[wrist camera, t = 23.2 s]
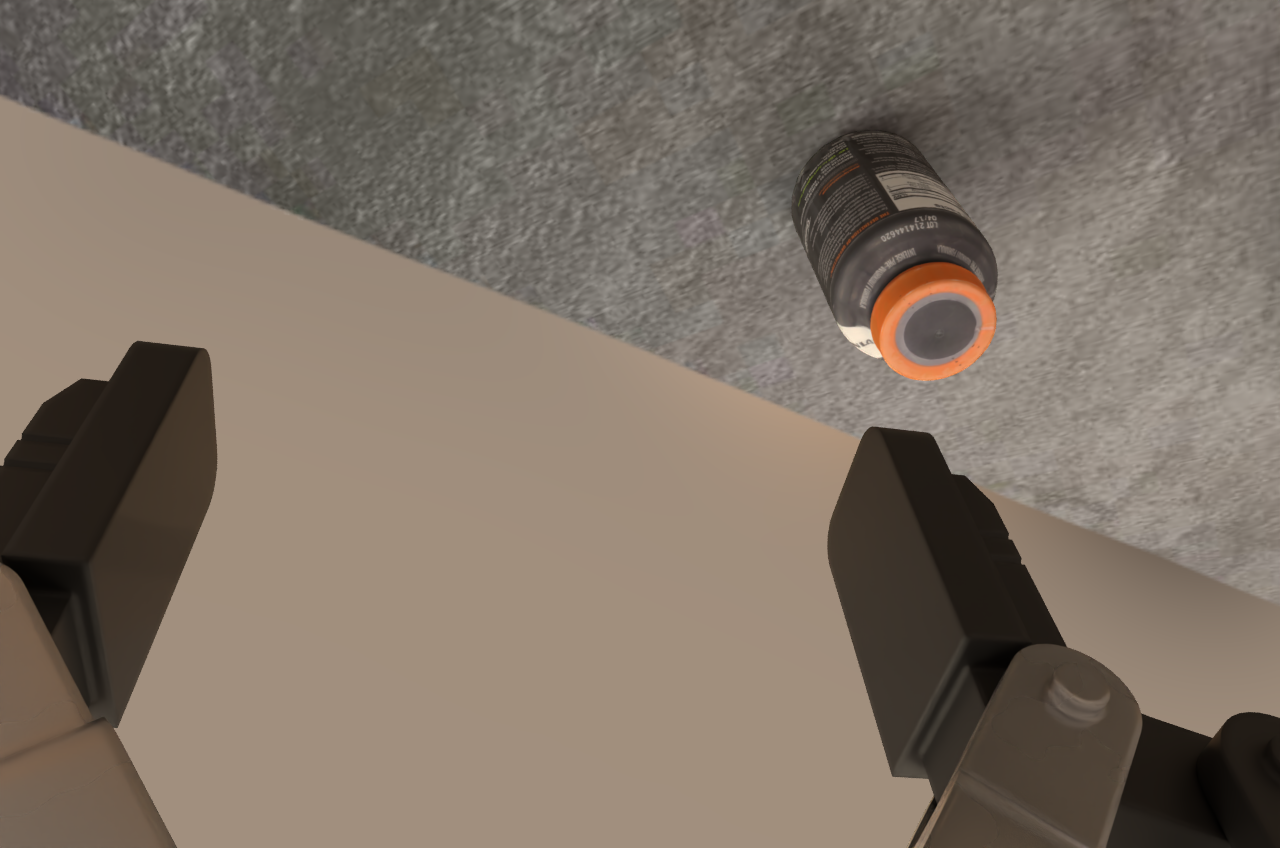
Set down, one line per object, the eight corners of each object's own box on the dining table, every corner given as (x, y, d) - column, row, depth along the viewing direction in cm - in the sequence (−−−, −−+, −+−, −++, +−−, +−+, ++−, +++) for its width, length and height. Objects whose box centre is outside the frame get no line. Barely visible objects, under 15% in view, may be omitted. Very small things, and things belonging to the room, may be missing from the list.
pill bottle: (820, 280, 46) (884, 432, 37) (766, 169, 43) (823, 307, 34) (948, 218, 45) (1047, 361, 36) (902, 99, 41) (999, 223, 32)
